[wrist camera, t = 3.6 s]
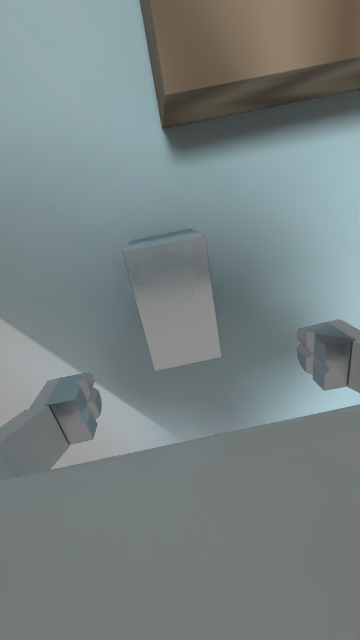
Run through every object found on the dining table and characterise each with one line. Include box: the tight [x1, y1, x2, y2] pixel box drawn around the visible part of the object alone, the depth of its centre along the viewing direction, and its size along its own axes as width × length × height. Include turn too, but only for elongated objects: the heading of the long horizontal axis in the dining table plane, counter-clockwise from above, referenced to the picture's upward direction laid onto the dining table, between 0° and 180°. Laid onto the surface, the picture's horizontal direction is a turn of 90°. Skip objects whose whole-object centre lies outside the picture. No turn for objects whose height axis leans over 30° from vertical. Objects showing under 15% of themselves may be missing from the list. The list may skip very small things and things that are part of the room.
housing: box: [122, 229, 221, 371], centre depth 18 cm, size 5×8×6 cm, turn 11°
